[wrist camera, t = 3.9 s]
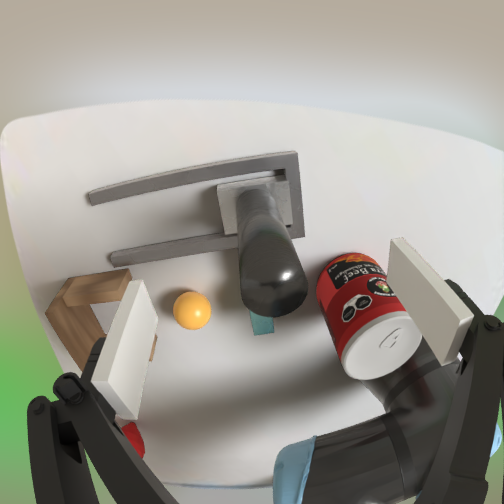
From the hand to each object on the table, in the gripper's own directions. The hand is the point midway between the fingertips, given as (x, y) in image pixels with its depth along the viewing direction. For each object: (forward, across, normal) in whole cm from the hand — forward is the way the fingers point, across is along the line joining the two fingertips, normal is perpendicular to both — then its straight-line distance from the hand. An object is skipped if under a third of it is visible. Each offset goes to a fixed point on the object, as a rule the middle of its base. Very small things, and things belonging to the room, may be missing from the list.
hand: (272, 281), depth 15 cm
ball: (+14, +8, +10) cm, 19 cm away
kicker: (+14, 0, +5) cm, 15 cm away
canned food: (+14, -9, +12) cm, 20 cm away
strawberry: (+14, +27, +36) cm, 47 cm away
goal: (+14, +18, +10) cm, 25 cm away
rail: (+14, +6, 0) cm, 15 cm away
